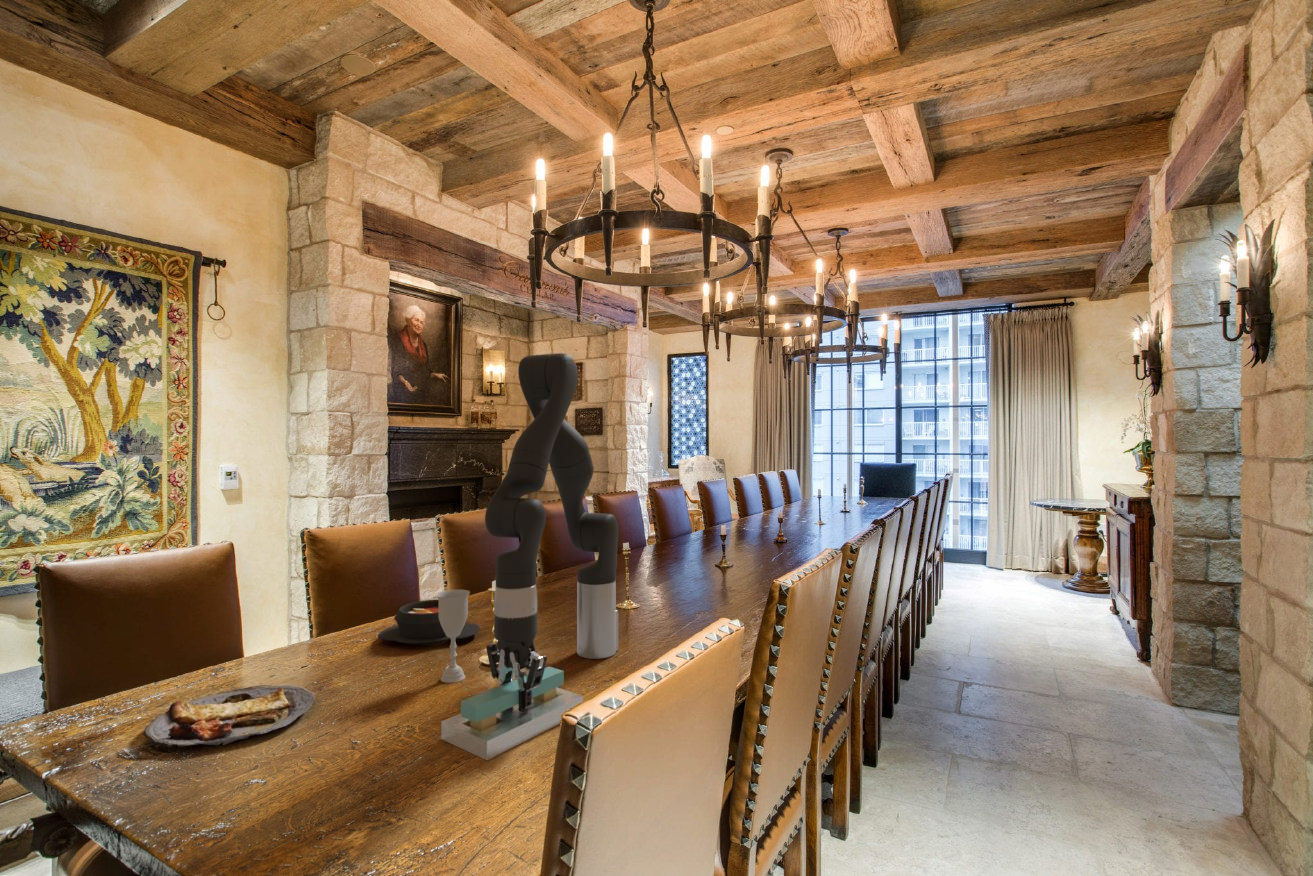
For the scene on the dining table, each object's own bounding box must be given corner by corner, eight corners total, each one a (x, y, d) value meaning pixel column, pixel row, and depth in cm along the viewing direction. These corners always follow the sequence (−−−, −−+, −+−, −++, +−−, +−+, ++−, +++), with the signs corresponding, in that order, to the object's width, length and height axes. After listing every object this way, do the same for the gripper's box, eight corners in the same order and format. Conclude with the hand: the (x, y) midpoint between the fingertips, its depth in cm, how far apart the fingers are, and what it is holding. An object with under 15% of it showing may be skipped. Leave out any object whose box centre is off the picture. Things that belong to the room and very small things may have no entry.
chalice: (458, 685, 128) (459, 598, 129) (429, 683, 130) (429, 596, 130) (476, 673, 136) (476, 590, 136) (447, 670, 137) (447, 588, 137)
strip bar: (548, 694, 120) (548, 666, 120) (563, 699, 117) (563, 670, 117) (461, 733, 104) (461, 701, 104) (476, 739, 101) (476, 707, 101)
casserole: (486, 627, 170) (486, 596, 170) (470, 649, 151) (470, 615, 151) (393, 629, 168) (393, 598, 168) (365, 652, 150) (365, 617, 150)
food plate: (126, 767, 96) (127, 744, 96) (162, 711, 117) (163, 692, 117) (311, 736, 107) (312, 716, 108) (314, 691, 128) (315, 673, 128)
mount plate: (538, 696, 123) (538, 681, 123) (583, 712, 116) (583, 695, 116) (441, 739, 105) (441, 721, 105) (487, 760, 98) (487, 741, 98)
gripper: (559, 612, 109) (559, 710, 109) (506, 600, 118) (506, 691, 118) (527, 621, 103) (527, 725, 103) (473, 608, 112) (473, 704, 112)
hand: (515, 706), depth 111 cm, fingers closed on strip bar, 4 cm apart
